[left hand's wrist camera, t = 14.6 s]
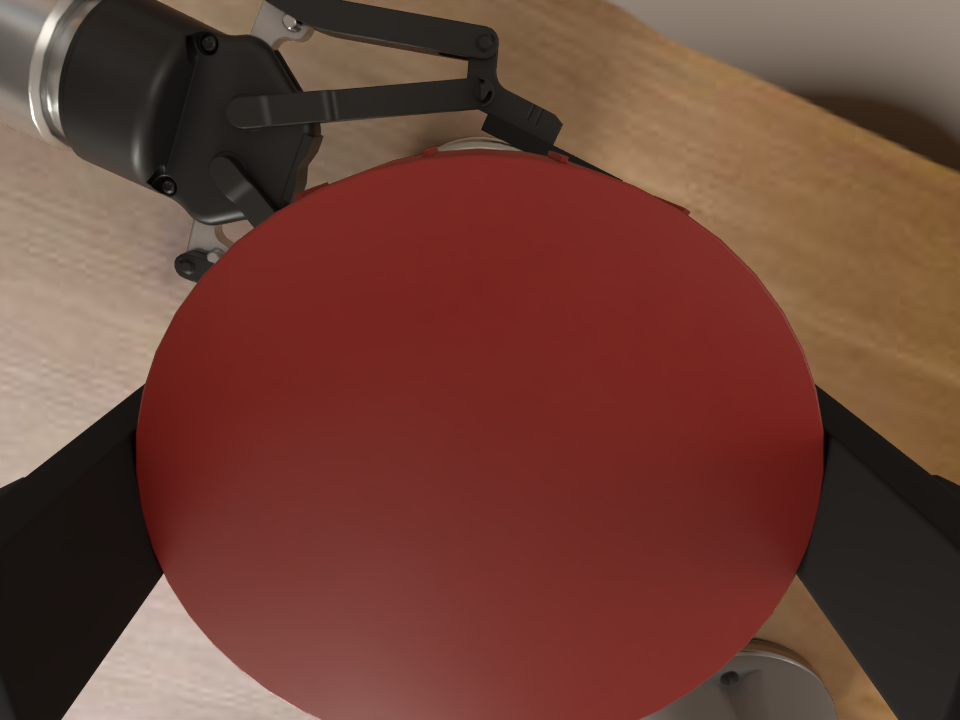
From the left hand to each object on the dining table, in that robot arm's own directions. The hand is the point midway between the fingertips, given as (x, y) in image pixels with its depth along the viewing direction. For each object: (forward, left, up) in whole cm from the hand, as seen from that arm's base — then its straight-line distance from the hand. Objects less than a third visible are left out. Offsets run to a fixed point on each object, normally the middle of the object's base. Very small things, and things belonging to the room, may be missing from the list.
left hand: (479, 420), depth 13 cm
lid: (0, 0, +3) cm, 3 cm away
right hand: (-4, -1, -18) cm, 19 cm away
